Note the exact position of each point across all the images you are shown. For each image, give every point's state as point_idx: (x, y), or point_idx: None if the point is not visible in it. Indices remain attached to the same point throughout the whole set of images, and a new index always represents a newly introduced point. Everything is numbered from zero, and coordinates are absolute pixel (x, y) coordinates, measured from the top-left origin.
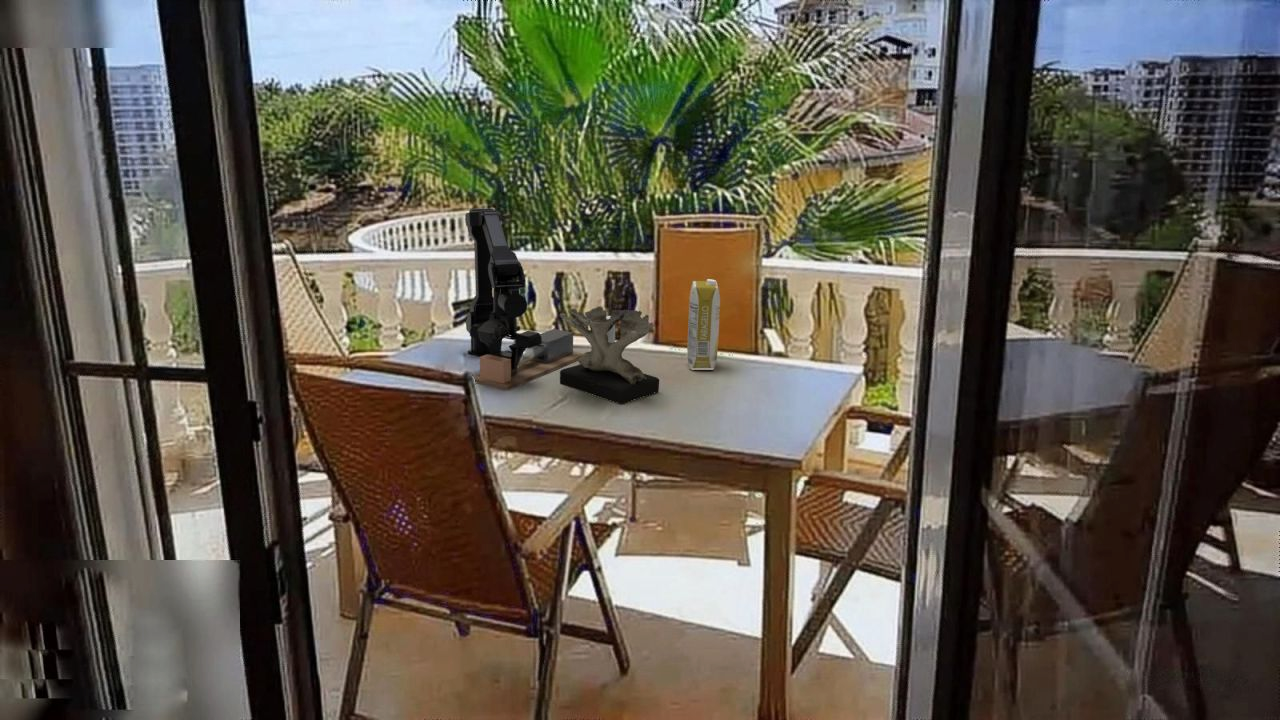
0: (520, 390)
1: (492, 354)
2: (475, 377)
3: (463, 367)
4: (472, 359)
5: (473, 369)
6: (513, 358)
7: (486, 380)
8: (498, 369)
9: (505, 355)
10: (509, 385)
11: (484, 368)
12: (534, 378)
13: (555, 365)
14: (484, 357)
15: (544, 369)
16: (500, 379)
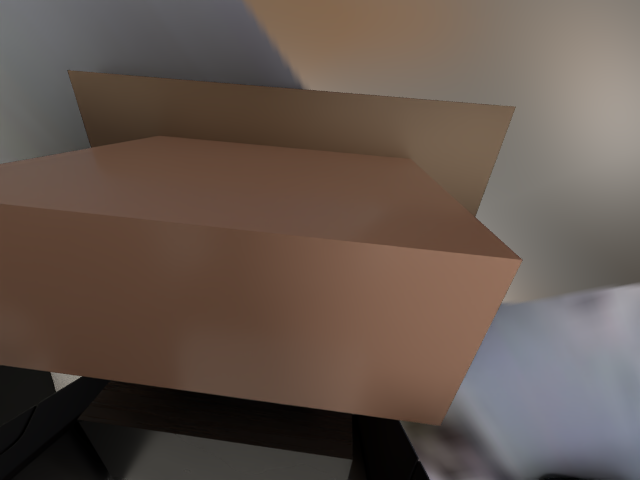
0: (46, 134)
1: (388, 446)
2: (455, 149)
3: (635, 348)
4: (607, 446)
5: (554, 342)
6: (55, 405)
7: (322, 126)
8: (127, 162)
9: (166, 442)
10: (83, 111)
11: (365, 179)
12: None
13: None
14: (391, 270)
15: None
16: (175, 143)
